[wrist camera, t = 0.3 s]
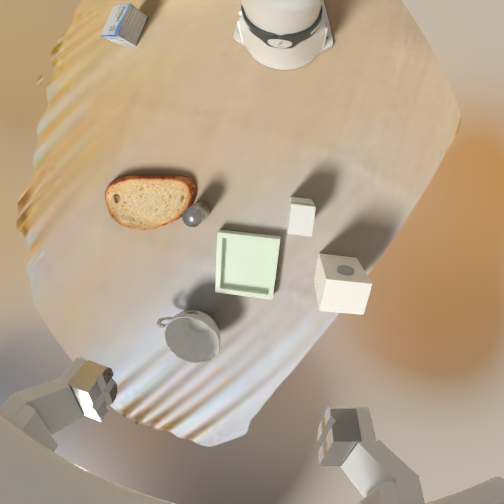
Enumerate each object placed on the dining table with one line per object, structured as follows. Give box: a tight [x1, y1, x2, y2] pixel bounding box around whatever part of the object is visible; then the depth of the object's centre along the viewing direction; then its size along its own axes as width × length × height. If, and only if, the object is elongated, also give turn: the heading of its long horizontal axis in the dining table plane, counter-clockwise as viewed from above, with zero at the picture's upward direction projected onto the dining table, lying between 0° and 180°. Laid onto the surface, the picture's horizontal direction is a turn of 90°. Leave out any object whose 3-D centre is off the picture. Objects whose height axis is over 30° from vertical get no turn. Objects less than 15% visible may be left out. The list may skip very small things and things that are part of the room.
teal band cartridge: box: [287, 196, 316, 237], centre depth 50 cm, size 5×4×8 cm
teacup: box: [157, 310, 220, 363], centre depth 61 cm, size 15×12×8 cm
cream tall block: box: [314, 253, 372, 315], centre depth 51 cm, size 7×8×12 cm
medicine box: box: [101, 4, 148, 46], centre depth 39 cm, size 8×4×9 cm, turn 163°
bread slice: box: [105, 175, 197, 230], centre depth 54 cm, size 18×18×4 cm
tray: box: [215, 229, 280, 300], centre depth 57 cm, size 13×12×2 cm
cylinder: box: [182, 201, 210, 227], centre depth 53 cm, size 4×4×6 cm
